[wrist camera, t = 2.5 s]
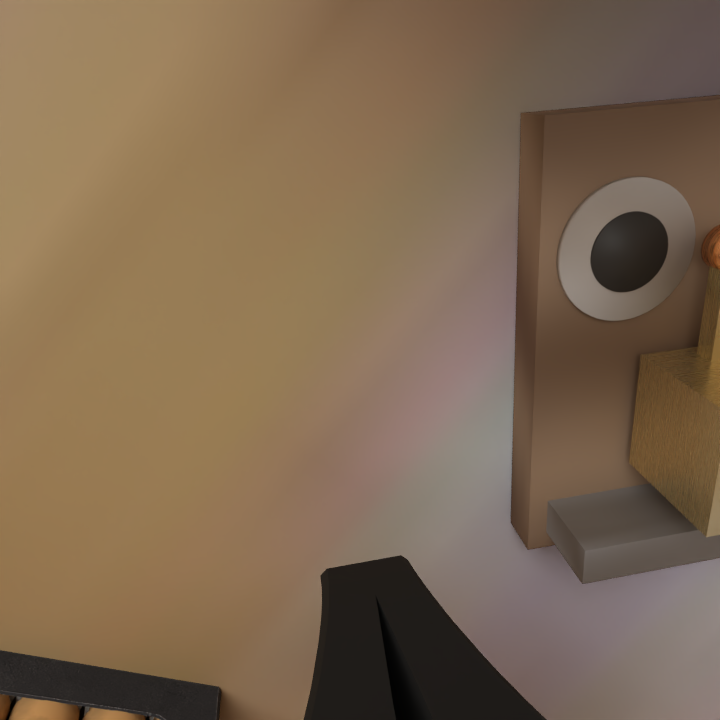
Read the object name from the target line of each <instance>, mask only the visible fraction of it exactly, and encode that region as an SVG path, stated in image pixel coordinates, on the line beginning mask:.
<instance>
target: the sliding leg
mask: <svg viewBox="0 0 720 720" xmlns="http://www.w3.org/2000/svg"><path fill="white" fill-rule="evenodd" d="M701 257H702V260H703V261H704V263H705V264H706V265H708V266H709V267H710V268H709V275H708V282H707V288H706V295H705V302H704V309H703V315H702V322H701V329H700V336H699V342H698V346H697V347H690V348H684V349H677V350H670V351H663V352H656V353H649V354H642V355H641V357H640V366H639V375H638V384H637V393H636V402H635V411H634V420H633V429H632V439H631V448H630V457H629V463H630V464H631V465H632V466H633V467H634V468H635V469H636V470H637V471H638V472H639V473H640V474H641V475H642V476H643V477H644V478H645V479H646V480H647V481H648V482H650V483H651V484H652V485H653V486H654V487H655V488H656V489H657V490H658V491H659V492H660V493H661V494H662V495H663V496H664V497H665V498H666V499H667V500H668V501H669V502H670V503H671V504H672V505H673V506H674V507H675V508H677V509H678V510H679V511H680V512H681V513H682V514H683V515H684V516H685V517H686V518H687V519H688V520H689V521H690V522H691V523H692V524H693V525H694V526H695V527H696V528H697V529H698V530H699V531H700V532H701V533H702V534H703V535H705V536H706V537H710V536H716V535H720V225H718V226H716V227H714V228H713V229H712V230H711V231H710V232H709V233H708V234H707V235H706V237H705V238H704V240H703V243H702V246H701Z"/></svg>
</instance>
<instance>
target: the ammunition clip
mask: <svg viewBox="0 0 720 720" xmlns="http://www.w3.org/2000/svg"><path fill="white" fill-rule="evenodd" d="M220 700H221V691H220V688H219V687H217V686H211V685H205V684H199V683H193V682H187V681H181V680H175V679H169V678H163V677H157V676H151V675H145V674H139V673H133V672H127V671H121V670H115V669H109V668H103V667H97V666H91V665H85V664H79V663H73V662H67V661H61V660H55V659H49V658H43V657H37V656H31V655H25V654H19V653H13V652H7V651H1V650H0V720H219V712H220Z"/></svg>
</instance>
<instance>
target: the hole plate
mask: <svg viewBox="0 0 720 720" xmlns="http://www.w3.org/2000/svg"><path fill="white" fill-rule="evenodd" d="M718 225H720V95H714V96H703V97H692V98H681V99H670V100H659V101H648V102H637V103H626V104H615V105H604V106H593V107H582V108H571V109H560V110H549V111H538V112H527V113H521V137H520V177H519V217H518V257H517V297H516V337H515V377H514V417H513V457H512V496H511V524H512V525H513V527H514V528H515V530H516V532H517V533H518V535H519V536H520V538H521V540H522V541H523V543H524V544H525V546H526V548H527V549H528V550H530V549H535V548H541V547H546V546H552V545H556V547H557V548H558V550H559V551H560V552H561V554H562V555H563V557H564V558H565V560H566V561H567V563H568V564H569V565H570V567H571V568H572V570H573V571H574V573H575V574H576V576H577V577H578V578H579V580H580V581H581V583H582V584H585V583H591V582H596V581H601V580H606V579H612V578H617V577H622V576H627V575H632V574H638V573H643V572H648V571H653V570H659V569H664V568H669V567H674V566H679V565H685V564H690V563H695V562H700V561H706V560H711V559H716V558H720V535H716V536H710V537H706V536H705V535H703V534H702V533H701V532H700V531H699V530H698V529H697V528H696V527H695V526H694V525H693V524H692V523H691V522H690V521H689V520H688V519H687V518H686V517H685V516H684V515H683V514H682V513H681V512H680V511H679V510H678V509H677V508H675V507H674V506H673V505H672V504H671V503H670V502H669V501H668V500H667V499H666V498H665V497H664V496H663V495H662V494H661V493H660V492H659V491H658V490H657V489H656V488H655V487H654V486H653V485H652V484H651V483H650V482H648V481H647V480H646V479H645V478H644V477H643V476H642V475H641V474H640V473H639V472H638V471H637V470H636V469H635V468H634V467H633V466H632V465H631V464H630V463H629V457H630V448H631V439H632V429H633V420H634V411H635V402H636V393H637V384H638V375H639V366H640V357H641V355H642V354H649V353H656V352H663V351H670V350H677V349H684V348H690V347H697V346H698V342H699V336H700V329H701V322H702V315H703V309H704V302H705V295H706V288H707V282H708V275H709V268H710V267H709V266H708V265H706V264H705V263H704V261H703V260H702V257H701V246H702V243H703V240H704V238H705V237H706V235H707V234H708V233H709V232H710V231H711V230H712V229H713V228H714V227H716V226H718Z"/></svg>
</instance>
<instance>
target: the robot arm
mask: <svg viewBox="0 0 720 720" xmlns="http://www.w3.org/2000/svg"><path fill="white" fill-rule="evenodd" d="M321 584H322V615H321V626H320V636H319V644H318V650H317V656H316V662H315V668H314V674H313V680H312V686H311V691H310V695H309V700H308V704H307V708H306V713H305V717H304V720H546V719H545V718H544V717H543V716H542V715H541V714H540V713H539V712H538V711H537V710H536V709H535V708H534V707H533V706H532V705H531V704H530V703H528V702H527V701H526V700H525V699H524V698H523V697H522V696H521V695H520V694H519V693H518V692H517V690H516V689H515V688H514V687H513V686H512V685H511V684H510V683H509V682H508V681H507V680H506V679H505V678H504V677H503V676H502V675H501V674H500V673H499V672H498V671H497V670H496V669H495V668H494V667H493V666H492V665H491V664H490V663H489V661H488V660H487V659H486V658H485V657H484V656H483V655H482V654H481V653H480V651H479V650H478V649H477V648H476V647H475V646H474V645H473V644H472V642H471V641H470V640H469V639H468V638H467V637H466V636H465V634H464V633H463V632H462V631H461V630H460V629H459V628H458V626H457V625H456V624H455V623H454V622H453V620H452V619H451V618H450V617H449V616H448V614H447V613H446V612H445V611H444V609H443V608H442V607H441V606H440V604H439V603H438V602H437V600H436V599H435V598H434V597H433V595H432V594H431V593H430V591H429V590H428V589H427V587H426V586H425V585H424V583H423V582H422V580H421V579H420V578H419V576H418V575H417V573H416V572H415V570H414V569H413V567H412V566H411V564H410V563H409V561H408V560H407V559H405V558H404V557H403V556H395V557H390V558H384V559H379V560H373V561H368V562H362V563H356V564H351V565H345V566H340V567H334V568H329V569H326V570H325V571H324V573H323V574H322V575H321Z"/></svg>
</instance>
